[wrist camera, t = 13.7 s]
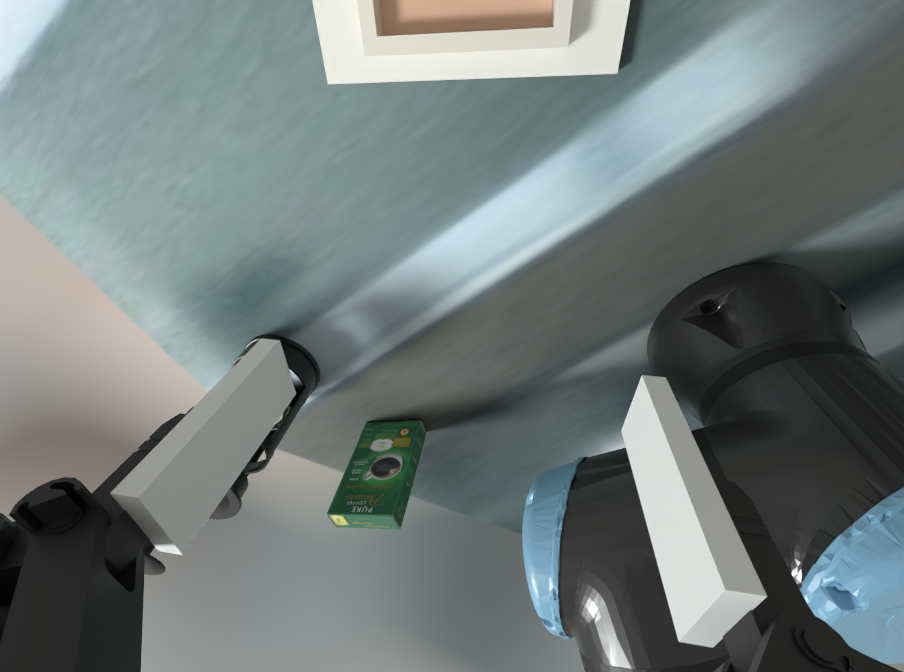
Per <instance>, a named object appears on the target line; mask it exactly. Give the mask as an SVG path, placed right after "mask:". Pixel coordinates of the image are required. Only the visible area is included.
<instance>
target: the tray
mask: <svg viewBox="0 0 904 672" xmlns="http://www.w3.org/2000/svg"><path fill="white" fill-rule="evenodd" d="M312 1H313V6H314V12H315V17H316V23H317V28H318V33H319V39H320V44H321V49H322V55H323V60H324V65H325V71H326V76H327V81H328V84H346V83H374V82H401V81H429V80H456V79H484V78H511V77H539V76H566V75H594V74H617V73H618V67H619V62H620V56H621V51H622V45H623V39H624V34H625V28H626V22H627V17H628V11H629V6H630V0H312Z"/></svg>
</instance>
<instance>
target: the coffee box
mask: <svg viewBox="0 0 904 672" xmlns="http://www.w3.org/2000/svg"><path fill="white" fill-rule="evenodd" d="M425 435H426V431H425V428H424V426H423V423H422V421H421V420H413V421H412V420H405V421H393V422H374V423H366V424H365V426H364V428H363V431H362V433H361V435H360V438H359V441H358V443H357V445H356V448H355V450H354V452H353V455H352V457H351V459H350V462H349V464H348V466H347V468H346V471H345V473H344V475H343V478H342V480H341V482H340V485H339V487H338V489H337V491H336V494H335V496H334V498H333V501H332V503H331V505H330V508H329V510H328V512H327V516H328V517H329V518H330V520H331V521H332V522H333V523H334V525H335V526H336V527H351V528H380V529H399V530H400V529H401V526H402V522H403V518H404V514H405V510H406V507H407V503H408V499H409V496H410V492H411V488H412V485H413V481H414V477H415V473H416V469H417V466H418V462H419V459H420V454H421V450H422V447H423V444H424V439H425Z"/></svg>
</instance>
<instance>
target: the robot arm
mask: <svg viewBox="0 0 904 672" xmlns="http://www.w3.org/2000/svg"><path fill="white" fill-rule="evenodd" d="M647 353H648V358H649V362H650V364H651V367H652V369H653V371H654V373H655V376H646V375H642V376H641V379H640V382H639V384H638V387H637V390H636V392H635V395H634V398H633V400H632V403H631V406H630V409H629V411H628V414H627V417H626V419H625V422H624V425H623V428H622V430H621V431H622V435H623V439H624V442H625V446H626V448H623V449H619V450H615V451H611V452H607V453H604V454H600V455H596V456H592V457H581V458H578V459H576V460H575V462H572V463H569V464H566V465H563V466H560V467H556V468H553V469H550V470H547V471H545V472H544V473H542V474H541V475H540V476H538V477H537V479H536V480H535V481H534V483H533V484H532V486H531V488H530V490H529V493H528V496H527V499H526V506H525V512H524V516H523V555H524V564H525V571H526V577H527V581H528V586H529V591H530V594H531V598H532V601H533V604H534V606H535V609H536V611H537V614H538V615H539V617H541V618H542V621H543V624H544V626H545V627H546V628H547V630H548V631H549V632H550V633H552V634H554V635H556V636H560V637H561V638H563V639H565V640H566V639H571V638H572V637H574V638H575V640H576V642H577V646H578V648H579V652H580V655H581V658H582V662H583V665H584V670H585V672H902V671H899V670H897V669H895V668H893V667H891V666H888V665H886V663H904V383H903V382H902V381H900V380H899V379H898V378H897V377H895V376H894V375H893V374H892V373H891V372H889V371H888V370H887V369H886V368H885V367H884V366H882V365H881V364H880V363H879V362H878V361H876V360H875V359H874V358H873V357H872V356H870V355H869V354H868V353H867V351H866V349H865V347H864V345H863V342H862V340H861V338H860V337H859V335H858V333H857V332H856V330H855V329H854V328H853V327H852V320H851V316H850V312H849V310H848V308H847V306H846V304H845V302H844V301H843V299H842V298H841V297H840V296H839V295H838V293H837V292H836V291H835V290H834V289H832V288H831V287H830V286H828V285H827V284H826V283H824V282H823V281H822V280H820V279H819V278H817V277H816V276H815V275H813V274H811V273H810V272H808V271H806V270H803V269H801V268H798V267H794V266H790V265H785V264H777V263H758V264H749V265H743V266H738V267H734V268H730V269H727V270H723V271H720V272H718V273H715V274H713V275H710V276H708V277H706V278H704V279H702V280H700V281H698V282H696V283H694V284H693V285H691V286H690V287H688V288H687V289H685V290H684V291H682V292H681V293H680V294H679V295H677V296H676V297H675V298H674V299H673V300H672V301H671V302H670V303H669V304H668V305H667V306H666V307H665V308H664V309H663V310H662V312H661V313H660V314H659V316H658V317H657V319H656V320H655V322H654V324H653V326H652V328H651V331H650V334H649V337H648V343H647ZM295 395H296V391H295V388H294V385H293V381H292V378H291V375H290V372H289V368H288V365H287V362H286V359H285V355H284V352H283V349H282V345H281V342H280V340H272V339H260V340H259V341H258V342H257V343H256V344H255V345H254V346H253V347H252V348H251V349H250V351H249V352H248V353H247V354H246V355H245V356H244V357H243V358H242V359H241V360H240V361H239V362H238V363H237V364H236V365H235V366H234V367H233V368H232V369H231V370H230V371H229V372H228V373H227V374H226V375H225V376H224V377H223V378H222V379H221V380H220V381H219V382H218V383H217V384H216V385H215V386H214V387H213V388H212V389H211V390H210V391H209V392H208V393H207V395H206V396H205V397H204V398H203V399H202V400H201V401H200V402H199V403H198V404H197V405H196V406H195V407H194V408H193V409H192V410H191V411H190V412H189V413H188V414H179V415H177V416H175V417H174V418H172V419H170V420H169V421H167V422H166V423H164V424H162V425H161V426H160V427H159V428H158V429H157V430H156V431H155V432H154V433H153V434H152V435H151V436H150V437H149V440H148V441H145V442H144V443H143V444H142V445H141V446H140V447H139V448H138V451H137V452H134V453H133V454H132V455H131V456H130V457H129V458H128V459H127V460H126V461H125V462H124V463H123V464H122V465H121V466H120V467H119V468H118V469H117V470H116V471H115V472H114V473H113V474H111V475H110V476H109V477H108V478H107V479H106V480H105V482H103V483H102V484H101V485H100V486H99V487H98V488H97V489H96V490H95V491H94V492H93V493H92V494H91V493H90V492H89V491H88V489H86V487H85V486H84V485H83V484H82V483H81V482H80V481H79V480H77V479H76V478H66V477H65V478H60V479H56V480H52V481H50V482H48V483H45V484H43V485H41V486H39V487H37V488H36V489H34V490H33V491H31V492H30V493H28V494H26V495H25V496H24V497H23V498H22V499H21V500H20V501H19V502H18V503H17V504H16V505H15V506H14V507H13V509H12V511H11V512H10V514H9V515H10V516H11V517H12V518H13V519H14V520H15V522H12V521H10V520H9V519H8V518H7V517H6V516H4V515H3V514H1V513H0V672H140V671H141V645H142V619H143V618H142V617H143V592H144V590H143V589H144V566H145V557H144V554H143V551H142V549H143V547H144V546H145V545H146V544H147V542H148V541H149V540H150V541H151V543H152V544H153V545H154V546H155V547H156V548H157V550H158V551H162V552H168V553H174V554H180V555H183V554H184V553H185V552H186V550H187V549H188V547H189V546H190V544H191V543H192V542H193V540H194V539H195V537H196V536H197V535H198V533H199V532H200V530H201V528H202V527H203V526H204V524H205V523H206V522H207V520H208V519H209V517H210V516H211V515H212V513H213V512H214V510H215V509H216V507H217V506H218V505H219V503H220V502H221V500H222V499H223V497H224V496H225V495H226V493H227V492H228V490H229V489H230V488H231V486H232V485H233V483H234V482H235V480H236V479H237V478H238V476H239V475H240V473H241V472H242V470H243V469H244V468H245V466H246V465H247V463H248V462H249V460H250V459H251V458H252V456H253V455H254V453H255V452H256V450H257V449H258V448H259V446H260V445H261V443H262V442H263V441H264V439H265V438H266V436H267V435H268V433H269V432H270V431H271V429H272V428H273V426H274V425H275V423H276V422H277V421H278V419H279V418H280V416H281V415H282V413H283V412H284V411H285V409H286V408H287V406H288V405H289V403H290V402H291V401H292V399H293V398H294V396H295ZM676 399H677V400H678V401H680V402H681V403H682V404H683V405H684V406H685V407H686V408H687V409H688V410H689V411H690V412H691V413H692V414H693V415H694V416H695V417H696V418H697V419H698V420H699V421H700V422H701V423H702V425H703V427H704V428H701V429H697V430H693V431H690V429H689V426H688V424H687V422H686V420H685V418H684V416H683V413H682V411H681V409H680V407H679V405H678V403H677V401H676Z"/></svg>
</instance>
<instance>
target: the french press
mask: <svg viewBox="0 0 904 672" xmlns="http://www.w3.org/2000/svg"><path fill="white" fill-rule="evenodd" d="M260 339H272V340H280V342H281V345H282V349H283V352H284V355H285V359H286V362H287V365H288V368H289V369H290V370H292V371H293V372H294V373H295V374H296V375H297V376H298V378H299V379H300V380H301V382H302V384H303V386H302V387H299V388H295V391H296V395H295V396H294V398H293V399H292V401H291V402H290V403H289V405H288V406H287V408H286V409H285V411H284V412H283V413H282V415H281V416H280V418H279V419H278V421H277V422H276V423H275V425H274V426H273V428H272V429H271V431H270V432H269V433H268V435H267V436H266V438H265V439H264V441H263V442H262V443H261V445H260V446H259V448H258V449H257V450H256V452H255V453H254V455H253V456H252V458H251V459H250V460H249V462H248V463H247V465H246V466H245V468H244V469H243V470H242V472H241V473H240V475H239V476H238V478H237V479H236V480H235V482H234V483H233V485H232V486H231V488H230V489H229V490H228V492H227V493H226V495H225V496H224V497H223V499H222V500H221V502H220V503H219V505H218V506H217V507H216V509H215V510H214V512H213V513H212V515H211V516H210V517H209V519H226V518H230V517H233V516H235V515H236V514H237V513H238V512H239V510H240V508H241V505H242V504H241V497H242V496H243V494H244V492H245V491H246V489H247V487H248V479H247V476H248V475H249V474H250V473H256V472H259V471H261V470H263V469H264V468H265V467H266V466H267V464H268V463H269V461H270V459H271V458H272V456H273V454H274V451H275V449H276V447H277V446H278V444H279V442H280V441H281V439H282V438H283V436H284V434H285V433H286V431H287V429H288V428H289V426H290V425H291V423H292V421H293V420H294V418H295V416H296V415H297V413H298V411H299V410H300V408H301V407H302V406H303V404H304V403H305V402H306V400H307V398H308V397H309V395H310V394H311V392H312V391H314V390H315V388H316V387H317V386H318V383H319V381H320V371H319V367H318V365H317V363H316V361H315V360H314V358H313V357H312V356H311V355H310V354H309V352H308V351H306V350H305V349H304V348H303V347H302V346H300V345H298V344H297V343H295V342H293V341H291V340H289V339H286V338H283V337H280V336H273V335H264V336H260V337H256V338H254V339H253V340H251V341H250V342H249V343H248V344H247V345H246V347H245V349H244V351H243V352H242V353H241V355H240V356H239V357H238V358H237V359H236V360H235V361H234V362H233V364H232V366H231V369H232V368H233V367H234V366H235V365H236V364H237V363H238V362H239V361H240V360H241V359H242V358H243V357H244V356H245V355H246V354H247V353H248V352H249V351H250V349H251V348H252V347H253V346H254V345H255V344H256V343H257V342H258V341H259V340H260ZM194 407H195V406H194ZM194 407H192V408H191V409H190V410H189V411H188V412H187V413H186V414H188V413H189V412H190V411H191V410H192V409H193V408H194ZM264 450H265V453H266V459H265V460H263V461H260V462H257V461H258V459H259V457H260V456H261V454H262V453H263V451H264ZM154 548H155V546H154V545H153V544H152V543H151V541H150V540H149V541H148V542H147V544H146V545H145V546H144V547H143V549H142V551H143V554H144V557H145V566H144V574H147V575H159V574H162V573H164V572H165V566H164V565H163V564H162V563H161V562H160V561H159V560H157V559H156V558H154V557H153V556H151V555H150V554H151V552H152V551H153V549H154Z"/></svg>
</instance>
